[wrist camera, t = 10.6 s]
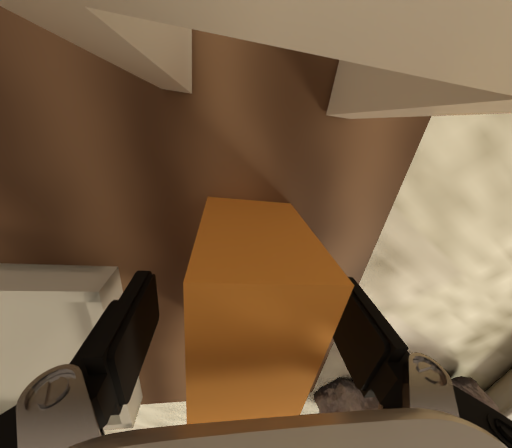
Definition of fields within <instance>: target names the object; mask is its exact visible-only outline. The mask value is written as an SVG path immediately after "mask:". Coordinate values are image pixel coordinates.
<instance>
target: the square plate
mask: <svg viewBox="0 0 512 448" xmlns="http://www.w3.org/2000/svg"><path fill="white" fill-rule="evenodd" d="M485 393H486V394H487V395H488V396H489V397H490V398H491V399H492V400H493V401H494V403H495V404H496V405H497V407H498V408H499V411H500V412H501V413H502V414H503V415H504V416H506V417H507V418H509V419H510V420H511V421H512V369H511V370H509V371H508V372H507V373H506V374H505V375H504V376H503V377H501V378H500V379H499V380H498V381H497V382H496V383H495V384H493V385H492V386H491V387H490V388H489V389H488V390H487V391H485Z"/></svg>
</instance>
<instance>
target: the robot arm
mask: <svg viewBox="0 0 512 448" xmlns="http://www.w3.org/2000/svg"><path fill="white" fill-rule="evenodd" d="M348 278H349V279H350V281H351V282H352V283H353V284H354V288H353V290H352V292H351V295H350V297H349V299H348V302H347V304H346V307H345V309H344V311H343V314H342V316H341V318H340V321H339V323H338V326H337V328H336V330H335V333H334V335H333V339H334V342H335V344H336V346H337V348H338V350H339V352H340V354H341V356H342V358H343V361H344V363H345V365H346V367H347V369H348V371H349V373H350V375H351V377H352V380H353V382H354V384H355V386H356V387H357V389H359V390H360V391H361V393H362V395H363V397H364V398H369V397H375V396H376V398H377V400H378V401H379V406H378V409H375V410H361V411H347V412H333V413H320V414H307V415H294V416H282V417H269V418H257V419H244V420H233V421H221V422H209V423H197V424H186V425H175V426H166V427H156V428H147V429H137V430H131V431H125V432H118V433H112V434H108V435H105V433H104V429H103V427H105V426H106V425H107V423H108V421H109V418H110V416H111V415H120V413H121V410H122V407H123V405H126V404H128V403H129V401H130V399H131V396H132V393H133V390H134V388H135V385H136V382H137V379H138V376H139V374H140V371H141V368H142V365H143V363H144V360H145V357H146V354H147V352H148V349H149V346H150V343H151V340H152V338H153V335H154V332H155V329H156V327H157V324H158V321H159V304H158V295H157V285H156V276H155V274H152V272H151V271H137V272H136V273H135V274H134V276H133V278H132V279H131V281H130V282H129V284H128V285H127V287H126V289H125V290H124V292H123V293H122V295H121V297H120V298H119V300H113V301H111V302H110V304H109V305H108V306H107V308H106V309H105V311H104V312H103V314H102V315H101V317H100V318H99V320H98V321H97V323H96V324H95V326H94V327H93V329H92V330H91V332H90V333H89V335H88V336H87V338H86V339H85V341H84V342H83V344H82V345H81V347H80V348H79V350H78V351H77V353H76V354H75V356H74V357H73V359H72V360H71V362H70V363H69V364H64V365H59V366H56V367H54V368H51V369H49V370H47V371H45V372H44V373H42V374H41V375H39V376H38V377H37V378H35V379H34V380H33V381H32V382H31V383H29V385H28V386H27V387H26V388H25V389H24V391H23V392H22V393H21V395H20V397H19V399H18V401H17V405H15V406H13V407H12V408H10V409H9V410H7V411H5V412H4V413H2V414H1V415H0V448H512V421H511V420H510V419H509V418H507V417H506V416H504V415H503V414H501V413H499V412H498V411H496V410H494V409H493V408H491V407H489V406H488V405H486V404H484V403H483V402H481V401H479V400H478V399H476V398H474V397H473V396H471V395H469V394H468V393H466V392H464V391H463V390H461V389H459V388H458V387H456V386H454V385H453V384H452V381H451V378H450V376H449V375H448V373H447V372H446V370H445V369H444V368H443V367H442V366H441V365H440V364H439V363H437V362H436V361H435V360H434V359H432V358H430V357H429V356H427V355H424V354H422V353H417V352H415V353H411V354H409V352H408V351H407V350H408V347H407V345H406V344H405V343H404V342H403V340H402V339H401V338H400V337H399V335H398V334H397V333H396V331H395V330H394V329H393V328H392V326H391V325H390V324H389V323H388V321H387V320H386V319H385V317H384V316H383V315H382V314H381V312H380V311H379V310H378V309H377V307H376V306H375V305H374V303H373V302H372V301H371V300H370V298H369V297H368V296H367V295H366V293H365V292H364V291H363V290H362V288H361V287H360V286H359V284H358V283H357V282H356V281H355V279H354V278H353V277H348Z"/></svg>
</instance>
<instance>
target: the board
mask: <svg viewBox="0 0 512 448" xmlns="http://www.w3.org/2000/svg"><path fill="white" fill-rule="evenodd" d="M338 64H339V60H338V59H333V58H328V57H323V56H319V55H314V54H309V53H304V52H299V51H295V50H290V49H285V48H280V47H275V46H271V45H266V44H261V43H256V42H251V41H247V40H242V39H237V38H232V37H227V36H223V35H218V34H213V33H208V32H203V31H199V30H194V29H192V94H190V93H184V92H178V91H172V90H165V89H161V88H159V87H157V86H155V85H153V84H151V83H149V82H147V81H145V80H143V79H141V78H139V77H137V76H135V75H133V74H131V73H130V72H128V71H126V70H124V69H122V68H120V67H118V66H116V65H114V64H112V63H110V62H108V61H106V60H104V59H102V58H100V57H98V56H96V55H94V54H93V53H91V52H89V51H87V50H85V49H83V48H81V47H79V46H77V45H75V44H73V43H71V42H69V41H67V40H65V39H63V38H61V37H59V36H58V35H56V34H54V33H52V32H50V31H48V30H46V29H44V28H42V27H40V26H38V25H36V24H34V23H32V22H30V21H28V20H26V19H24V18H22V17H21V16H19V15H17V14H15V13H13V12H11V11H9V10H7V9H5V8H3V7H1V6H0V263H8V264H45V265H81V266H117V267H118V268H119V274H120V279H121V284H122V290H123V292H124V290H125V289H126V287H127V285H128V284H129V282H130V281H131V279H132V278H133V276H134V274H135V273H136V272H137V271H151V272H152V274H155V276H156V285H157V295H158V304H159V321H158V324H157V327H156V329H155V332H154V335H153V338H152V340H151V343H150V346H149V349H148V352H147V354H146V357H145V360H144V363H143V365H142V368H141V371H140V374H139V380H140V385H141V391H142V396H143V398H142V401H141V404H154V403H167V402H181V401H186V369H185V332H184V295H183V282H184V278H185V274H186V271H187V267H188V264H189V260H190V257H191V253H192V250H193V246H194V243H195V239H196V236H197V232H198V229H199V225H200V222H201V218H202V215H203V211H204V208H205V204H206V201H207V197H219V198H231V199H243V200H255V201H267V202H279V203H291V205H292V206H293V207H294V208H295V210H296V211H297V212H298V214H299V215H300V216H301V217H302V219H303V220H304V221H305V223H306V224H307V225H308V226H309V228H310V229H311V230H312V232H313V233H314V234H315V235H316V237H317V238H318V239H319V241H320V242H321V243H322V244H323V246H324V247H325V248H326V250H327V251H328V252H329V253H330V255H331V256H332V257H333V259H334V260H335V261H336V262H337V264H338V265H339V266H340V268H341V269H342V270H343V271H344V273H345V274H346V275H347V277H353V278H354V279H355V281H356V282H357V283H358V284H359V282H360V280H361V278H362V275H363V273H364V271H365V268H366V266H367V264H368V261H369V259H370V257H371V254H372V252H373V250H374V247H375V245H376V243H377V241H378V238H379V236H380V234H381V231H382V229H383V227H384V224H385V222H386V220H387V217H388V215H389V213H390V210H391V208H392V206H393V203H394V201H395V199H396V197H397V194H398V192H399V190H400V187H401V185H402V183H403V180H404V178H405V176H406V173H407V171H408V169H409V166H410V164H411V162H412V159H413V157H414V155H415V152H416V150H417V148H418V146H419V143H420V141H421V139H422V136H423V134H424V132H425V129H426V127H427V125H428V122H429V120H430V118H431V116H417V117H389V118H362V119H347V118H341V117H334V116H328V115H326V113H327V109H328V105H329V101H330V97H331V93H332V88H333V84H334V80H335V76H336V72H337V68H338ZM333 342H334V339H333V337H332V340H331V342H330V345H329V347H328V349H327V352H326V354H325V356H324V359H323V361H322V363H321V366H320V368H319V371H318V373H317V375H316V378H315V380H314V382H313V385H312V387H311V390H310V392H312V391H313V389H314V387H315V384H316V382H317V380H318V377H319V375H320V373H321V370H322V368H323V366H324V363H325V361H326V359H327V356H328V354H329V352H330V349H331V347H332V345H333Z"/></svg>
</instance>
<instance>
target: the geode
mask: <svg viewBox="0 0 512 448" xmlns="http://www.w3.org/2000/svg"><path fill="white" fill-rule="evenodd" d="M451 381H452V384H453V385H454V386H456V387H458V388H459V389H461V390H463V391H464V392H466V393H468V394H469V395H471V396H473V397H474V398H476V399H478V400H479V401H481V402H483V403H484V404H486V405H488V406H489V407H491V408H493V409H494V410H496V411H498V412H499V413H501V412H500V411H499V408H498V407H497V405H496V404H495V403H494V401H493V400H492V399H491V398H490V397H489V396H488V395H487V394H486V393H485V392H484V391H483V390H482V389H481V388H480V387H479V386H478V384H477V382H476V381H475V380H473V379H472V378H469V377H462V376H461V377H456V378H453V379H451ZM314 400H315V402H316V404H317V406H318V408H319V414H320V413H333V412H347V411H361V410H375V409H378V406H379V401H378V400H377V398H376V396H375V397H369V398H364V397H363V395H362V393H361V391H360V390H359V389H357V387H356V386H355V384H354V382H353V381H350V380H347V379H344V378H340V377H339V378H337V379H336V380H334V381H332V382H331V383H329V384H327V385H325V386H323V387H321V388H319V390H318V391H317V392H316V393H314ZM501 414H502V413H501Z"/></svg>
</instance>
